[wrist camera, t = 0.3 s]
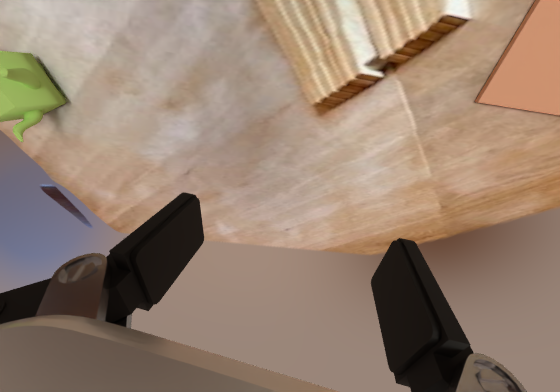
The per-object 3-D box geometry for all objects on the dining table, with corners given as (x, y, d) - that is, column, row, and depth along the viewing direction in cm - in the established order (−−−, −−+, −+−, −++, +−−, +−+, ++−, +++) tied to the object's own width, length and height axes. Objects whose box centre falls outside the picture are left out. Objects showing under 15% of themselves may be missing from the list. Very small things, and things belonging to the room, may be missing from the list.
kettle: (72, 70, 40) (-6, 68, 31) (80, 133, 48) (19, 147, 38) (-1, 31, 39) (-105, 16, 30) (19, 102, 47) (-59, 108, 37)
